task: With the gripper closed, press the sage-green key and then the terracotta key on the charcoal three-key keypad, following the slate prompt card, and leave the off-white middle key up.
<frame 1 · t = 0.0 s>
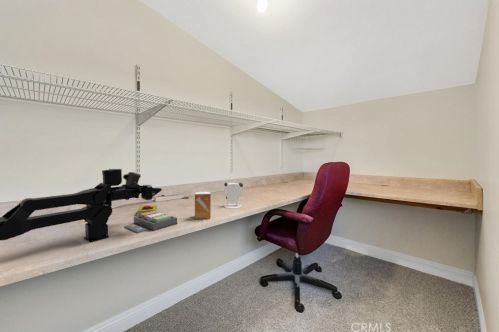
hand: (155, 188, 107), 17 cm above the worktop, tool horizontal, fingers open, 9 cm apart
prompt card: (135, 228, 98), on the worktop
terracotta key: (149, 215, 109), point 3 cm above the worktop, slide at 0.0 cm
small box: (202, 217, 117), on the worktop
sage key: (161, 219, 103), point 3 cm above the worktop, slide at 0.0 cm
offwhite key: (155, 216, 106), point 3 cm above the worktop, slide at 0.0 cm
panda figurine: (233, 206, 141), on the worktop
keypad housing: (155, 223, 106), on the worktop
emergency button: (147, 213, 125), on the worktop
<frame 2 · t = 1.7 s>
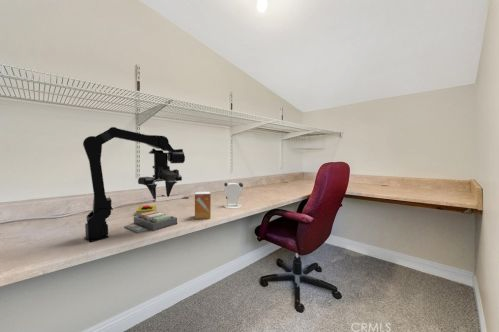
hand: (161, 197, 102), 13 cm above the worktop, tool pointing down, fingers open, 6 cm apart
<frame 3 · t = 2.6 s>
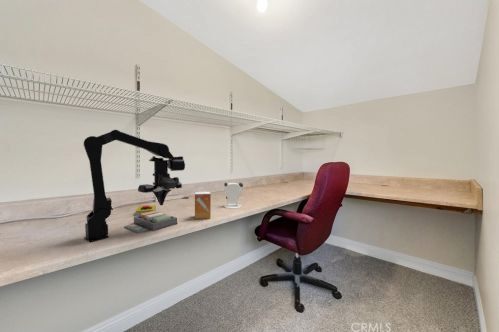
hand: (161, 205, 102), 10 cm above the worktop, tool pointing down, fingers closed
nothing on the worktop moved.
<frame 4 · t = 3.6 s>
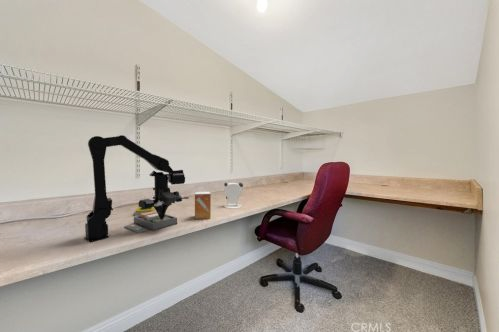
hand: (161, 219, 103), 3 cm above the worktop, tool pointing down, fingers closed, pressing on sage key
sage key: (161, 221, 103), point 2 cm above the worktop, slide at 1.0 cm, touching gripper
everything else where it was.
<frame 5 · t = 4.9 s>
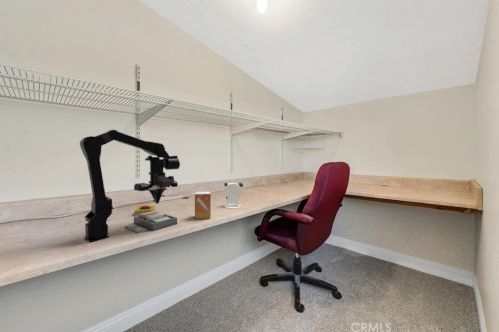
hand: (157, 203, 104), 10 cm above the worktop, tool pointing down, fingers closed
sage key: (161, 221, 103), point 2 cm above the worktop, slide at 1.1 cm
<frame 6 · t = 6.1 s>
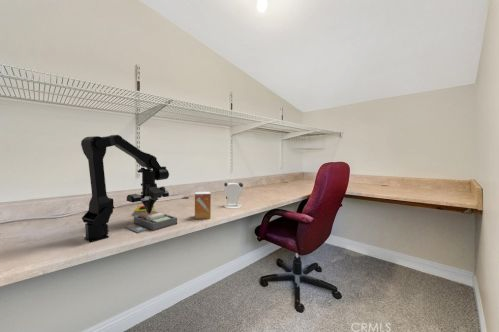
hand: (149, 213, 109), 4 cm above the worktop, tool pointing down, fingers closed, pressing on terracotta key
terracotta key: (149, 215, 109), point 3 cm above the worktop, slide at 0.1 cm, touching gripper
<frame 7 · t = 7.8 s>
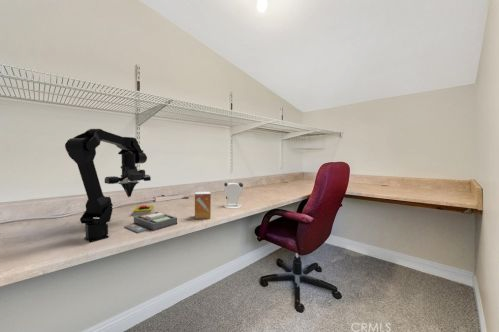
hand: (129, 196, 106), 13 cm above the worktop, tool pointing down, fingers closed
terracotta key: (149, 217, 109), point 2 cm above the worktop, slide at 1.1 cm
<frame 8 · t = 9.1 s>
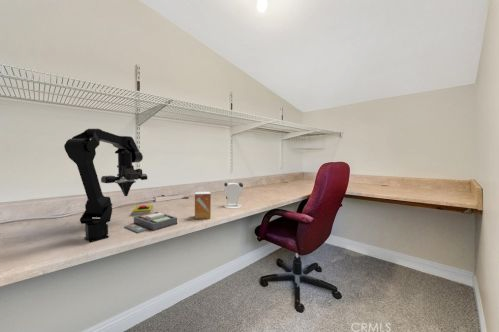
hand: (125, 196, 106), 13 cm above the worktop, tool pointing down, fingers closed
at the end: sage key slide at 1.1 cm; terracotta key slide at 1.1 cm; offwhite key slide at 0.0 cm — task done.
